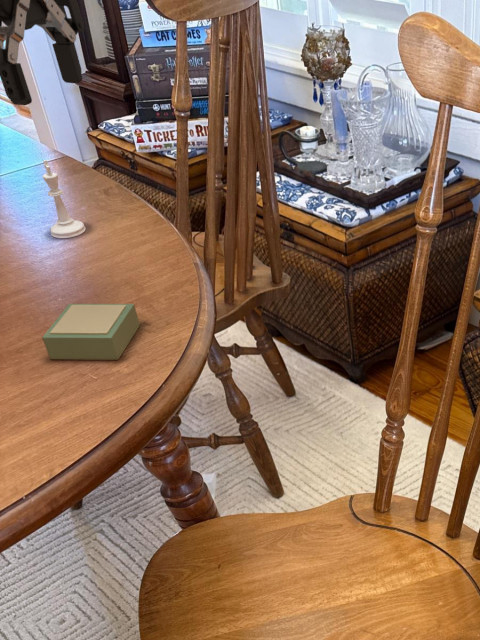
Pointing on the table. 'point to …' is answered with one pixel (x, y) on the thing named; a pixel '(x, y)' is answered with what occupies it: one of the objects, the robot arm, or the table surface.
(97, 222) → the table surface
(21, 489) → the table surface
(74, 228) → the chess piece
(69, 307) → the green square box
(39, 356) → the table surface
